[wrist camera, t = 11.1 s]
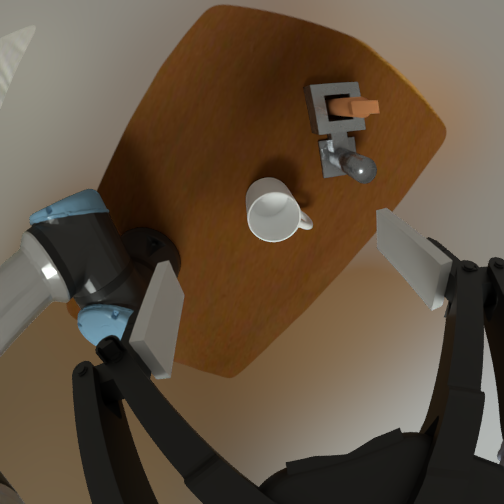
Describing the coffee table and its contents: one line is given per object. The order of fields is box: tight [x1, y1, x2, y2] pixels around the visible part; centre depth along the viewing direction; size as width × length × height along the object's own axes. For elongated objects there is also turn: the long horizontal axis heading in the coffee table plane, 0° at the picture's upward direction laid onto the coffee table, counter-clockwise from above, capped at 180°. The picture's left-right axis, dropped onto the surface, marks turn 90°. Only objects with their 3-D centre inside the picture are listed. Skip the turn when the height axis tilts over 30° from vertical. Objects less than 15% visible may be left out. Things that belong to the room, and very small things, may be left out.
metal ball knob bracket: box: [303, 82, 377, 184], centre depth 39 cm, size 9×17×12 cm, turn 12°
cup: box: [246, 177, 313, 242], centre depth 46 cm, size 8×12×10 cm
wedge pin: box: [325, 97, 379, 118], centre depth 36 cm, size 4×3×15 cm
